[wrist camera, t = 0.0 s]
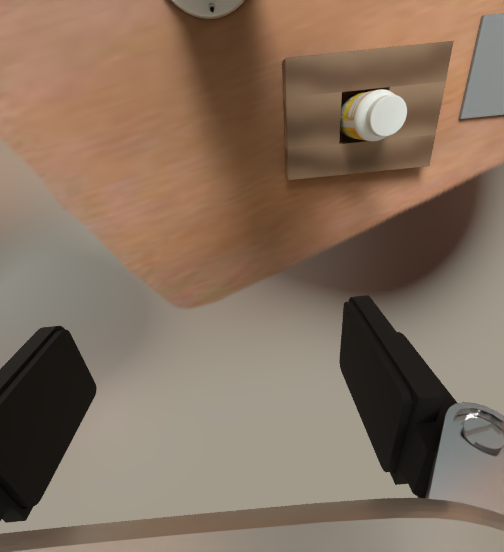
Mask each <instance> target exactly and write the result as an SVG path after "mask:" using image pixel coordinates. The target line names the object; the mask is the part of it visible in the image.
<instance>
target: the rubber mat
mask: <svg viewBox="0 0 504 552" xmlns="http://www.w3.org/2000/svg"><path fill="white" fill-rule="evenodd" d="M494 115H504V13H501V14H491V15H484V16H482V17H481V22H480V26H479V31H478V35H477V40H476V44H475V49H474V53H473V58H472V62H471V66H470V71H469V75H468V80H467V84H466V89H465V93H464V98H463V102H462V107H461V111H460V116H459V119H464V118H474V117H484V116H494Z"/></svg>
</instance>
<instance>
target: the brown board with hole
mask: <svg viewBox="0 0 504 552" xmlns="http://www.w3.org/2000/svg"><path fill="white" fill-rule="evenodd" d="M452 46H453V41H447V42H437V43H427V44H418V45H408V46H398V47H388V48H378V49H368V50H358V51H349V52H339V53H329V54H319V55H309V56H299V57H289V58H285V59H284V60H283V62H282V69H283V102H284V134H285V166H286V178H287V179H288V180H295V179H305V178H315V177H325V176H335V175H345V174H355V173H365V172H375V171H385V170H395V169H405V168H415V167H425V166H429V165H430V160H431V154H432V149H433V144H434V139H435V134H436V129H437V123H438V118H439V113H440V108H441V103H442V97H443V92H444V87H445V82H446V77H447V72H448V66H449V61H450V56H451V51H452ZM377 89H384V90H388V91H391V92H392V93H394V94H395V95H397V96H399V97H401V98H402V99H403V100H404V101H405V103H406V106H407V116H406V120H405V122H404V124H403V125H402V127H401V128H400V129H399V130H398V131H397V132H396V133H394V134H392V135H390V136H387V137H385V138H384V139H382V140H379V141H366V140H360V141H350V142H340V143H339V140H340V120H341V101H342V93H347V92H357V91H367V90H377Z"/></svg>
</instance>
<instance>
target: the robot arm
mask: <svg viewBox="0 0 504 552" xmlns="http://www.w3.org/2000/svg"><path fill="white" fill-rule="evenodd" d="M171 1H172V2H173V3H174V4H175V5H176V6H177V7H179V8H180V9H181V10H183V11H184V12H186V13H188V14H190V15H192V16H194V17H198V18H203V19H217V18H220V17H223V16H226V15H228V14H230V13H231V12H233V11H235V10H236V9H237V8H238V7H239V6H240V5H241V4H242V3H243V2H244V1H245V0H171ZM212 7H213V8H214V12H211V11H210V8H212ZM341 337H342V338H341V349H340V368H341V371H342V374H343V376H344V378H345V381H346V383H347V386H348V388H349V390H350V393H351V395H352V397H353V400H354V402H355V405H356V407H357V410H358V412H359V414H360V417H361V419H362V422H363V424H364V426H365V429H366V431H367V433H368V436H369V438H370V440H371V443H372V446H373V448H374V450H375V453H376V455H377V458H378V460H379V462H380V465H381V467H382V468H383V470H384V471H385V472H390V474H391V476H392V478H393V480H394V483H395V485H397V484H407V483H408V484H409V486H410V488H411V490H412V492H413V494H415V495H417V496H418V497H417V498H391V499H390V498H388V499H369V500H355V501H341V502H327V503H314V504H303V505H292V506H281V507H270V508H259V509H248V510H237V511H227V512H215V513H205V514H194V515H184V516H173V517H163V518H152V519H143V520H133V521H122V522H112V523H101V524H92V525H81V526H72V527H61V528H52V529H43V530H33V531H23V532H13V533H3V534H0V552H504V416H503V415H502V414H500V413H498V412H497V411H495V410H492V409H490V408H488V407H486V406H483V405H479V404H476V403H468V402H462V403H457V402H456V401H455V399H454V398H453V397H452V396H451V394H450V393H449V392H448V391H447V389H446V388H445V387H444V385H443V384H442V383H441V382H440V380H439V379H438V378H437V377H436V375H435V374H434V373H433V372H432V370H431V369H430V368H429V366H428V365H427V364H426V362H425V361H424V360H423V359H422V357H421V356H420V355H419V354H418V352H417V351H416V350H415V348H414V347H413V346H412V345H411V344H410V342H409V341H408V340H407V338H406V337H405V336H404V335H403V334H402V333H400V332H396V331H395V330H394V328H393V327H392V325H391V324H390V323H389V322H388V320H387V319H386V318H385V316H384V315H383V314H382V312H381V311H380V310H379V308H378V307H377V306H376V304H375V303H374V302H373V300H372V299H371V298H370V297H369V296H358V297H357V296H356V297H351V298H350V299H349V302H345V303H344V309H343V323H342V336H341ZM95 394H96V384H95V382H94V380H93V378H92V376H91V374H90V372H89V370H88V368H87V366H86V364H85V362H84V360H83V358H82V356H81V354H80V352H79V350H78V348H77V346H76V344H75V342H74V340H73V338H72V336H71V334H70V332H69V331H68V330H65V329H64V328H63V327H62V326H53V327H44V328H40V329H39V330H38V331H37V332H36V333H35V334H34V335H33V336H32V337H31V338H30V339H29V340H28V341H27V342H26V343H25V344H24V345H23V346H22V347H21V348H20V349H19V350H18V351H17V352H16V353H15V354H14V356H13V357H12V358H11V359H10V360H9V361H8V362H7V363H6V364H5V365H4V366H3V367H2V368H1V369H0V521H1V519H3V520H4V521H5V522H16V521H25V520H26V519H27V517H28V515H29V514H30V512H31V510H32V508H33V506H35V505H37V504H38V502H39V501H40V500H41V498H42V496H43V494H44V492H45V491H46V488H47V486H48V485H49V483H50V481H51V479H52V477H53V475H54V473H55V471H56V469H57V468H58V465H59V463H60V462H61V460H62V458H63V456H64V454H65V452H66V450H67V448H68V446H69V444H70V443H71V441H72V439H73V437H74V435H75V433H76V431H77V429H78V427H79V425H80V423H81V421H82V419H83V418H84V416H85V414H86V412H87V410H88V408H89V406H90V404H91V402H92V400H93V399H94V397H95Z"/></svg>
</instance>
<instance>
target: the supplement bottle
mask: <svg viewBox="0 0 504 552" xmlns="http://www.w3.org/2000/svg"><path fill="white" fill-rule="evenodd" d="M406 116H407V106H406V103H405V101H404V100H403V99H402V98H401V97H399V96H397V95H395V94H394V93H392V92H391V91H388V90H384V89H381V90H374V91H369V92H365V93H360V94H356V95H353V96H351V97H350V98H348V99H347V100H346V101H345V102H344V104H343V105H342V107H341V120H340V130H341V131H342V133H343V134H344V135H346V136H347V137H350V138H354V139H360V140H366V141H379V140H382V139H384V138H385V137H387V136H390V135H392V134H394V133H396V132H397V131H398V130H399V129H400V128H401V127H402V125H403V124H404V122H405V120H406Z"/></svg>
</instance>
